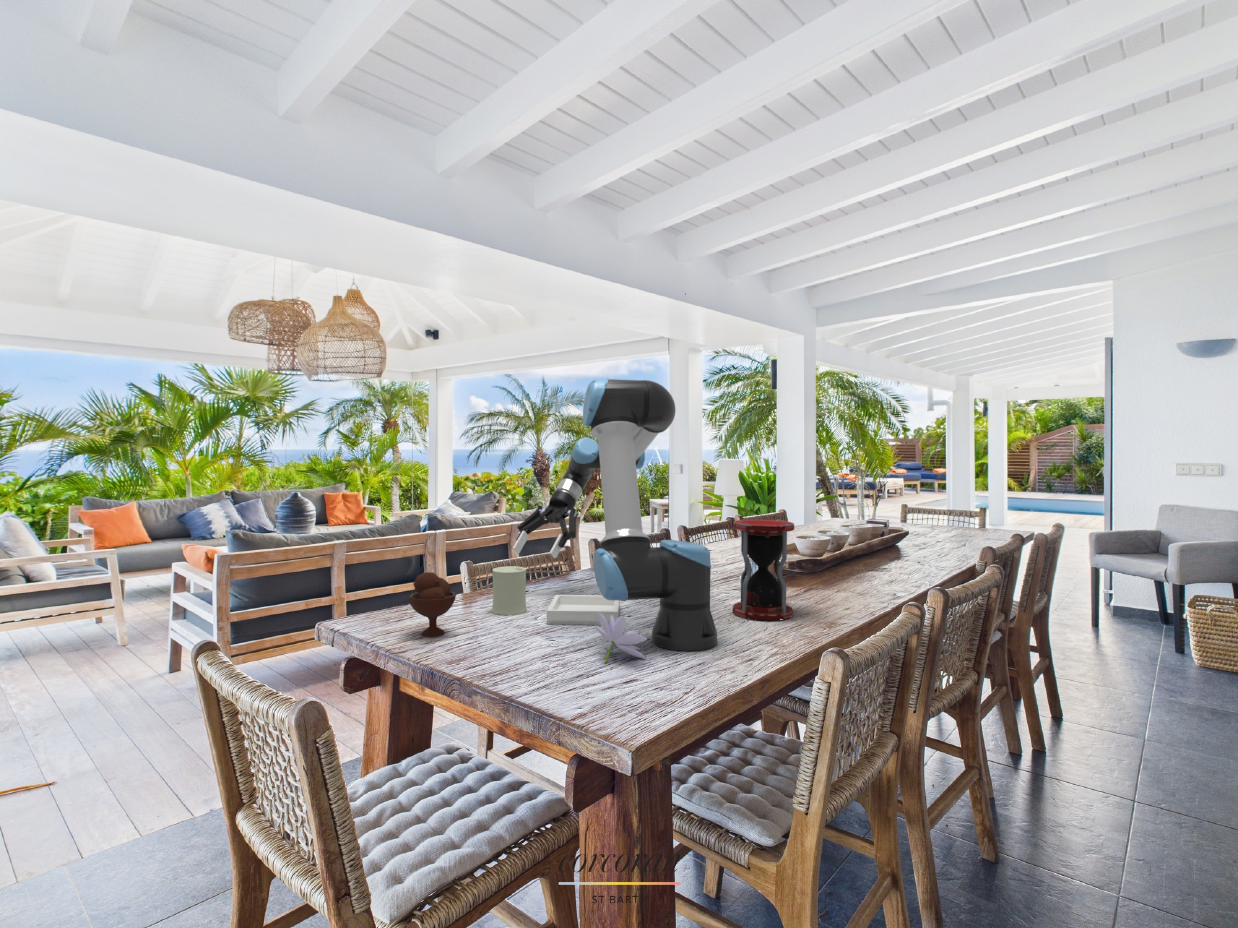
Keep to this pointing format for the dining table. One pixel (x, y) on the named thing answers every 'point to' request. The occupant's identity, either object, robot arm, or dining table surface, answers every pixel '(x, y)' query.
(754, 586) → the hourglass
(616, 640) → the water lily
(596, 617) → the grey tray
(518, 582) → the can
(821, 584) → the dining table surface
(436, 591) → the ice cream bowl
